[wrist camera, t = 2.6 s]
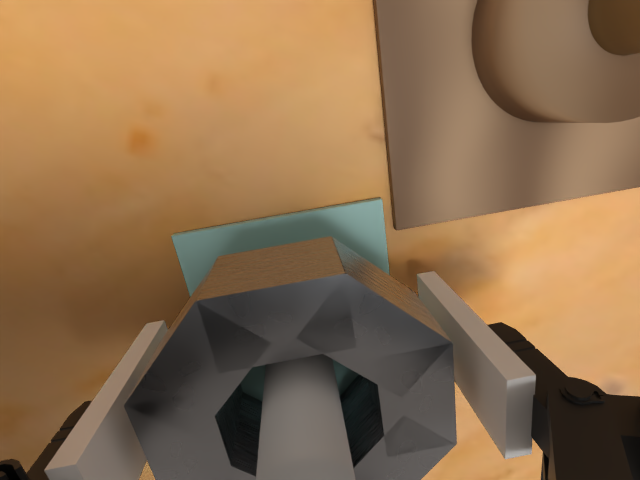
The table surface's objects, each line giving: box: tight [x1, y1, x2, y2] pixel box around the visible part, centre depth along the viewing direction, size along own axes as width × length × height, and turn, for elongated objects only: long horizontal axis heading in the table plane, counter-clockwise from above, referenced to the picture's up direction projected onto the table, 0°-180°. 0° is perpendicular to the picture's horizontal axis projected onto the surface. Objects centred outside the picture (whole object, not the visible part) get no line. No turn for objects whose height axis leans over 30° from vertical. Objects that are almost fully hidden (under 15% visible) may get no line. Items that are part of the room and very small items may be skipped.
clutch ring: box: [124, 236, 457, 480], centre depth 12 cm, size 9×9×3 cm
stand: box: [171, 197, 390, 480], centre depth 12 cm, size 9×9×9 cm
